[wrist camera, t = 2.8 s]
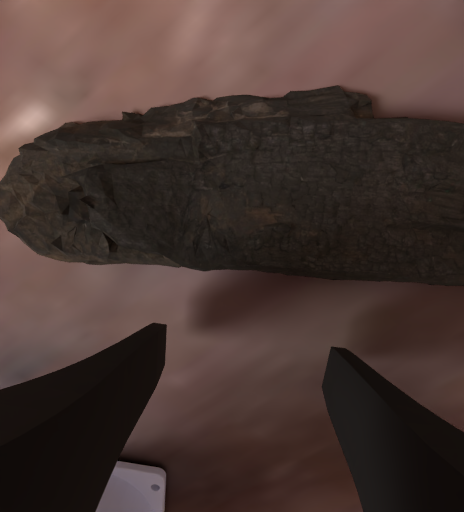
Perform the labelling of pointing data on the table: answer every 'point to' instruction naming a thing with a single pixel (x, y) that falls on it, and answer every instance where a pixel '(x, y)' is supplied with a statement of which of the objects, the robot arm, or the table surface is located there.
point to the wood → (249, 190)
